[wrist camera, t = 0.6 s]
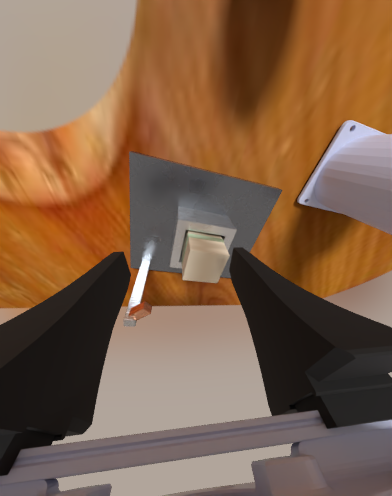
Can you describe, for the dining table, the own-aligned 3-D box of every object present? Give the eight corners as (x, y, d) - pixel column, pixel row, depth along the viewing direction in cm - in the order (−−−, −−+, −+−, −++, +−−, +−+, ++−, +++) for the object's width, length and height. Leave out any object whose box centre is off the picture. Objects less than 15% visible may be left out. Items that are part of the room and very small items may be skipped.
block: (216, 223, 18) (230, 255, 13) (207, 248, 20) (217, 283, 15) (186, 218, 17) (189, 249, 12) (181, 244, 19) (181, 280, 14)
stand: (277, 188, 17) (355, 223, 10) (233, 274, 25) (258, 332, 17) (132, 151, 14) (76, 160, 6) (132, 263, 22) (107, 328, 14)
